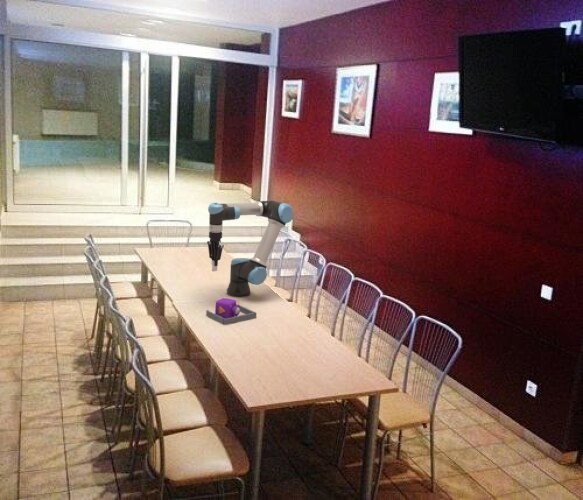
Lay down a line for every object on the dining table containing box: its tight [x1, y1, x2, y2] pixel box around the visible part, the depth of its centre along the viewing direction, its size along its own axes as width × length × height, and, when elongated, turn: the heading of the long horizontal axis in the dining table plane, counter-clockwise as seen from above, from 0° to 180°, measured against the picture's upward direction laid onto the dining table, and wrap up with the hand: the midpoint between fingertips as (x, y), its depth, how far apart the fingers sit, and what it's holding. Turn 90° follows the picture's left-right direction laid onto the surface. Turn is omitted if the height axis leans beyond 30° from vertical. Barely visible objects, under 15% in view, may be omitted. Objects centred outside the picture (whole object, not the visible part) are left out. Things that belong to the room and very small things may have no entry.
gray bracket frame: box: [205, 303, 257, 326], centre depth 336 cm, size 22×18×4 cm
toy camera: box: [214, 296, 241, 319], centre depth 336 cm, size 11×14×10 cm
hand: (214, 270), depth 347 cm, fingers closed
